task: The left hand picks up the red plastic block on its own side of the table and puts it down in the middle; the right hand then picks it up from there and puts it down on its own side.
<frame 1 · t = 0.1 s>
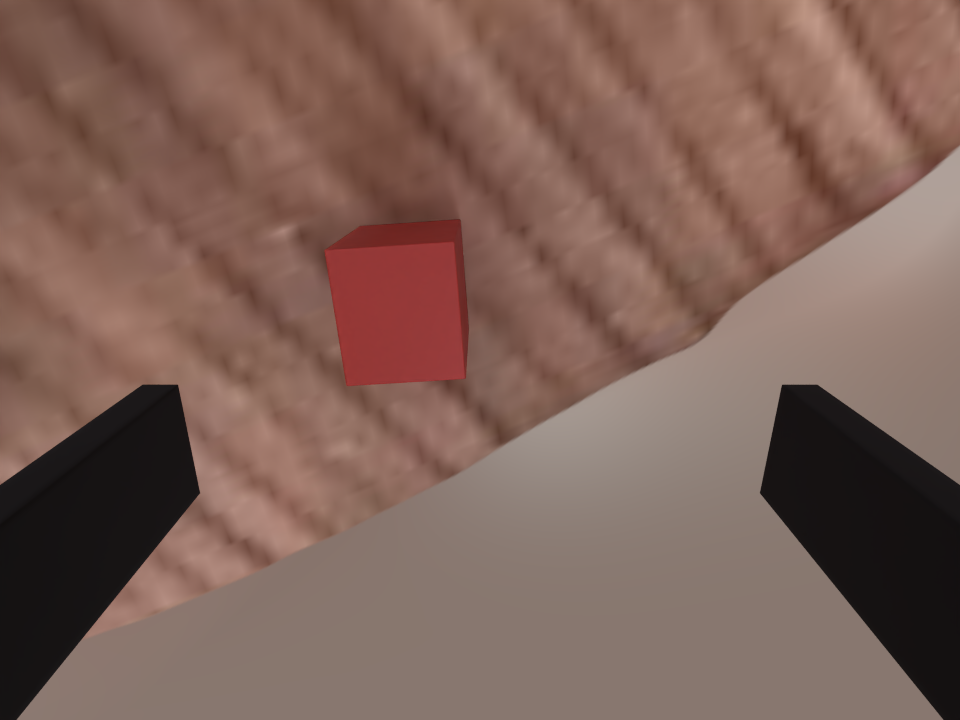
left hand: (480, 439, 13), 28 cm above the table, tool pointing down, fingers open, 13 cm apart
block: (415, 279, 40), on the table
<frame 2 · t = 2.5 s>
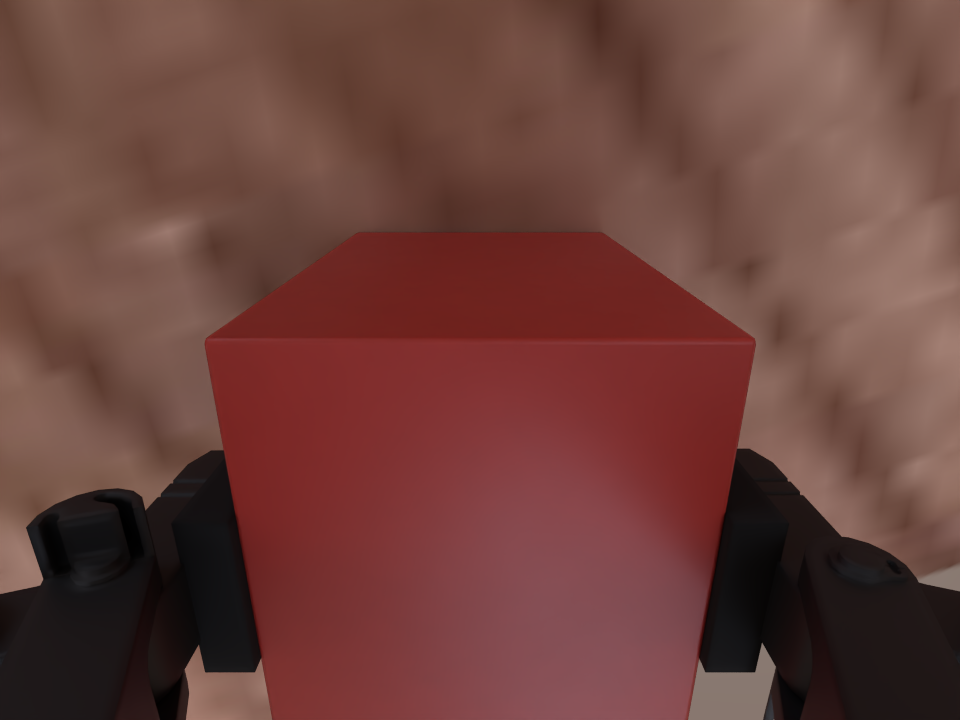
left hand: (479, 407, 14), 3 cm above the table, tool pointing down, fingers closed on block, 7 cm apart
block: (480, 363, 17), on the table, touching left hand
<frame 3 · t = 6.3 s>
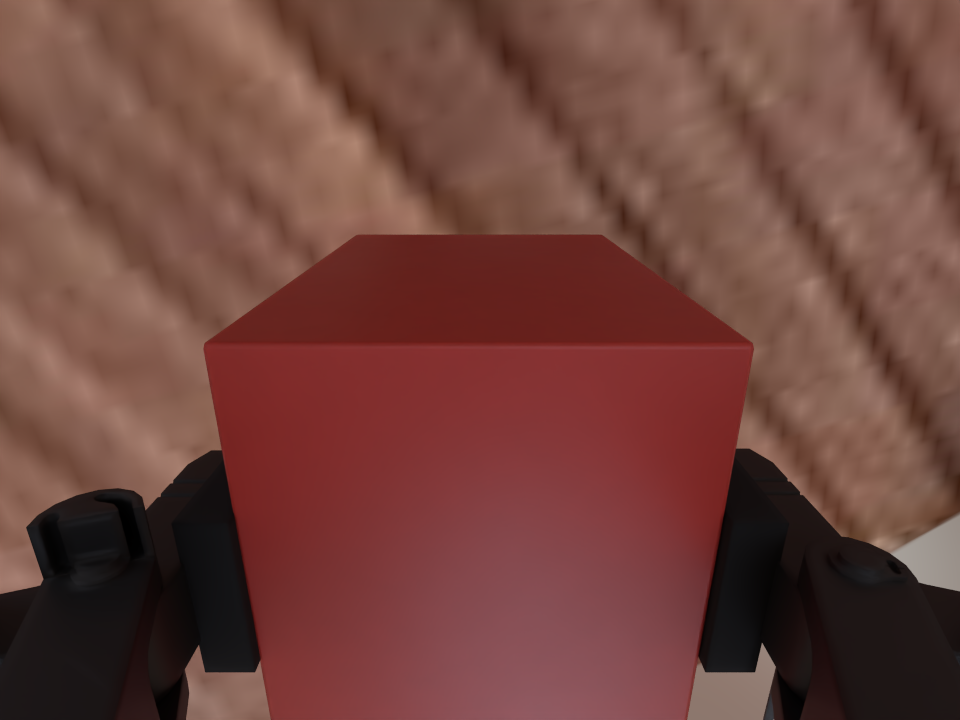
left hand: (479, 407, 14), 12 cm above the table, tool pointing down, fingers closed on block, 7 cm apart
block: (479, 365, 17), point 9 cm above the table, touching left hand
when the left hand's fingers open (5 cm above the table, at t = 10.4 s): block drops 2 cm, on the table.
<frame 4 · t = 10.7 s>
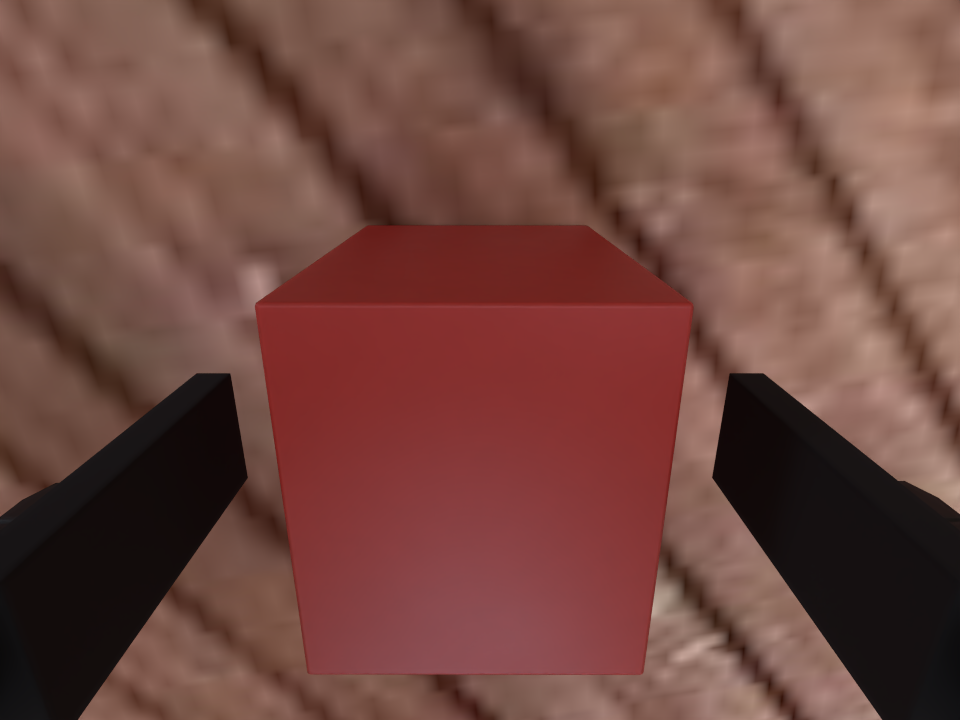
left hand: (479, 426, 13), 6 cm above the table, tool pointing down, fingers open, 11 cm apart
block: (477, 344, 19), on the table
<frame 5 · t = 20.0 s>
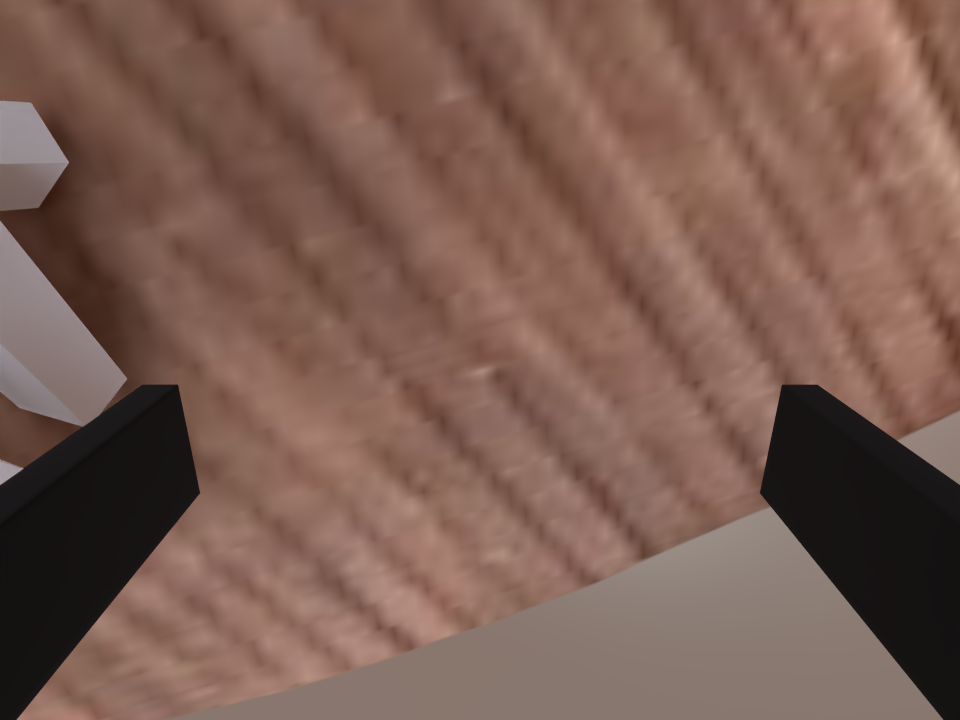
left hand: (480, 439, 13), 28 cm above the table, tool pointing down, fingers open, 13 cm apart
pile of blocks: (17, 317, 41), on the table
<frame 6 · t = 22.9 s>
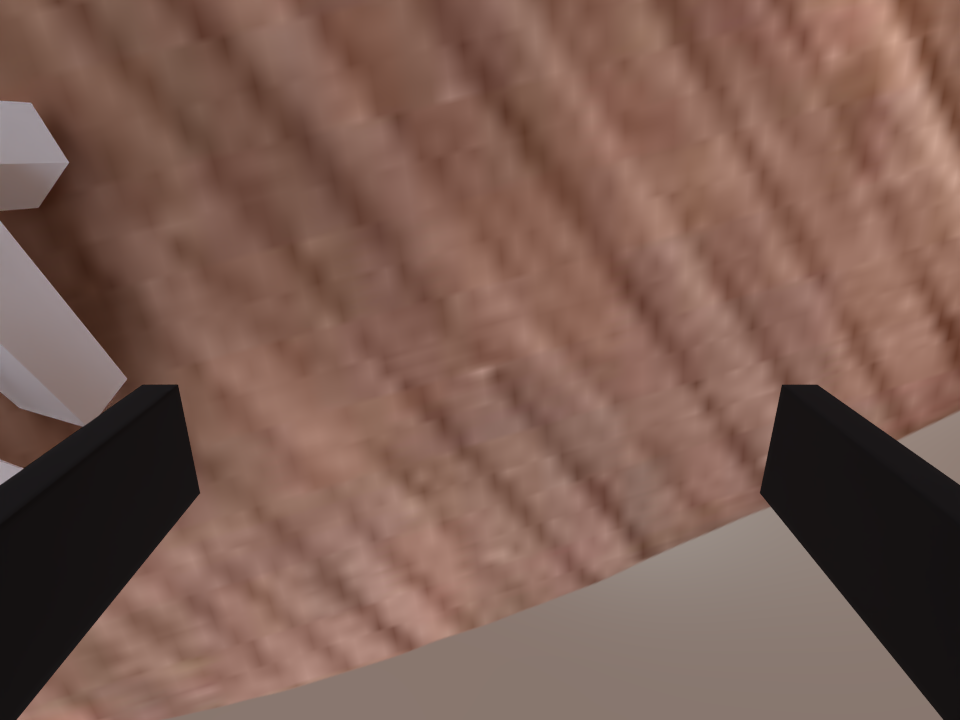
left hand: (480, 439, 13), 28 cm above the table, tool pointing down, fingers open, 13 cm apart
pile of blocks: (17, 317, 41), on the table
when the right hand's fingers open (5 cm above the table, at t = 26.1 s): block drops 2 cm, on the table.
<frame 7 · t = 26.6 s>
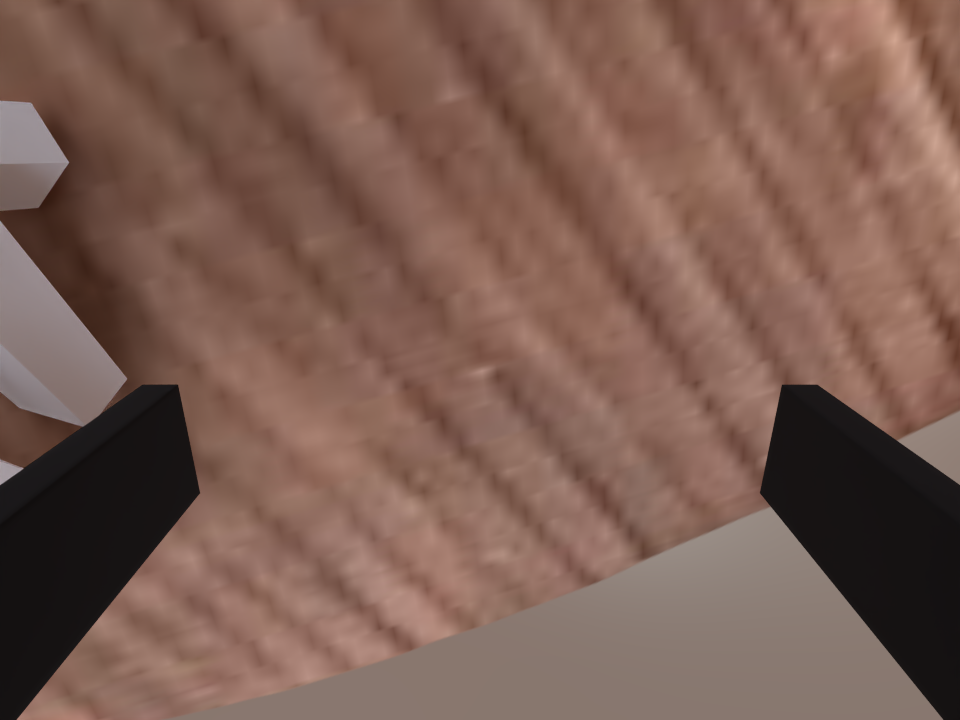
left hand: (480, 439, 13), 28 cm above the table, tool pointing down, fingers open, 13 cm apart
pile of blocks: (17, 317, 41), on the table
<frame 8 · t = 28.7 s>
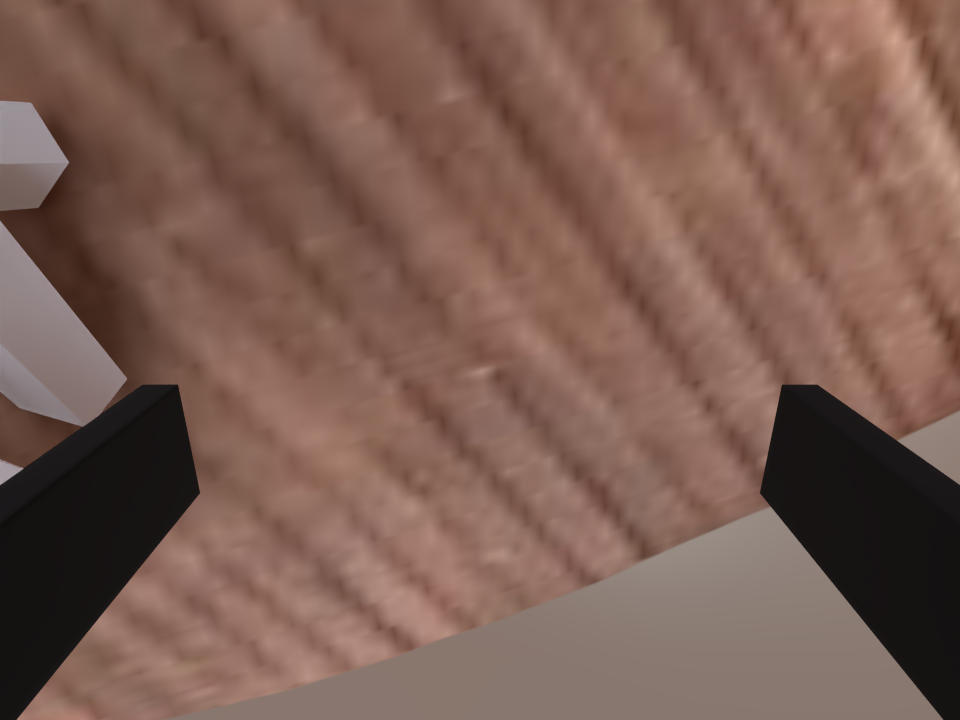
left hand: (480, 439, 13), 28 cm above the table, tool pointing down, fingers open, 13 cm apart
pile of blocks: (17, 317, 41), on the table
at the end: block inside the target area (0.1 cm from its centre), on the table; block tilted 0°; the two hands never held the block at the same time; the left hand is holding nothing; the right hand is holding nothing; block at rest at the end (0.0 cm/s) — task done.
